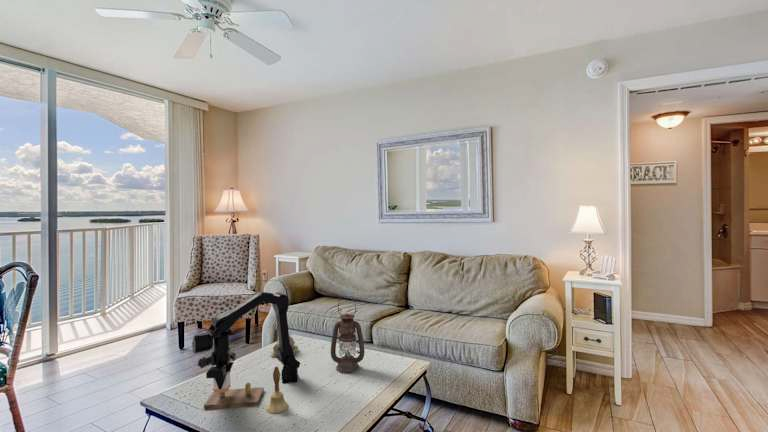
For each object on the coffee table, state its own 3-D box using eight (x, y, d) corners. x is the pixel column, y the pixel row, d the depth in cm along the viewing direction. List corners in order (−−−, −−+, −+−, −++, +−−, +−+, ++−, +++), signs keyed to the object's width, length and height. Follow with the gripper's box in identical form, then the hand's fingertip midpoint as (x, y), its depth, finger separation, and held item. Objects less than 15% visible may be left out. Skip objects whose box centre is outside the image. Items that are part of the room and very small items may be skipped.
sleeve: (230, 386, 151) (230, 371, 151) (226, 391, 146) (226, 376, 146) (217, 386, 151) (217, 372, 151) (213, 392, 146) (213, 377, 146)
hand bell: (282, 414, 138) (281, 372, 137) (261, 412, 139) (261, 370, 139) (292, 403, 146) (291, 363, 145) (272, 401, 147) (272, 361, 147)
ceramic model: (282, 360, 189) (282, 340, 189) (266, 356, 194) (266, 337, 194) (301, 351, 201) (301, 332, 201) (286, 347, 206) (285, 329, 206)
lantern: (363, 373, 172) (363, 298, 172) (329, 373, 172) (328, 299, 172) (365, 363, 183) (364, 293, 183) (332, 364, 183) (331, 293, 183)
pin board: (263, 390, 156) (263, 375, 156) (257, 405, 144) (257, 389, 144) (214, 393, 154) (214, 378, 154) (203, 409, 142) (203, 392, 142)
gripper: (208, 340, 157) (209, 376, 157) (191, 357, 138) (192, 398, 138) (235, 338, 158) (236, 375, 158) (222, 355, 139) (223, 396, 140)
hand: (222, 385), depth 148 cm, fingers closed on sleeve, 5 cm apart
